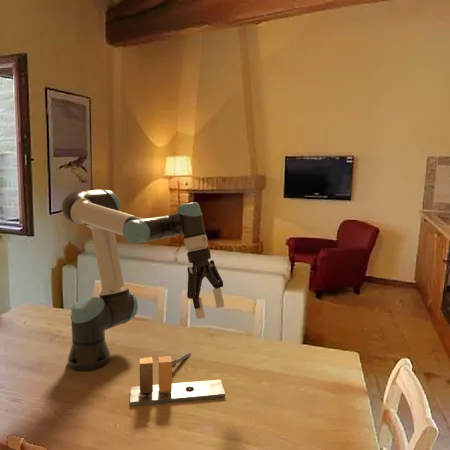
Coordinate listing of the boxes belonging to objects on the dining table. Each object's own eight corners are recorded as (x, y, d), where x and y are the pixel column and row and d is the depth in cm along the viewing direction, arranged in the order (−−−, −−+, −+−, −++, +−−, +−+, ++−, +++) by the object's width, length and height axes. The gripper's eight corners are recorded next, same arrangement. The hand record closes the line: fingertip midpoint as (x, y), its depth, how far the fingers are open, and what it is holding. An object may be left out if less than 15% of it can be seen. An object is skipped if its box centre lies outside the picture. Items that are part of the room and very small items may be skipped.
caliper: (167, 379, 149) (167, 362, 148) (164, 378, 149) (164, 361, 148) (191, 354, 168) (191, 339, 167) (188, 354, 168) (188, 339, 167)
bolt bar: (131, 391, 140) (130, 355, 138) (220, 383, 146) (220, 349, 144) (130, 406, 131) (129, 368, 129) (225, 398, 137) (225, 361, 135)
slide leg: (158, 387, 139) (158, 356, 137) (171, 386, 140) (170, 355, 138) (159, 393, 135) (159, 362, 134) (171, 392, 136) (171, 361, 134)
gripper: (187, 252, 127) (202, 322, 127) (224, 242, 149) (237, 301, 149) (167, 256, 130) (181, 324, 130) (206, 246, 153) (218, 304, 152)
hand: (211, 312), depth 140 cm, fingers open, 13 cm apart
